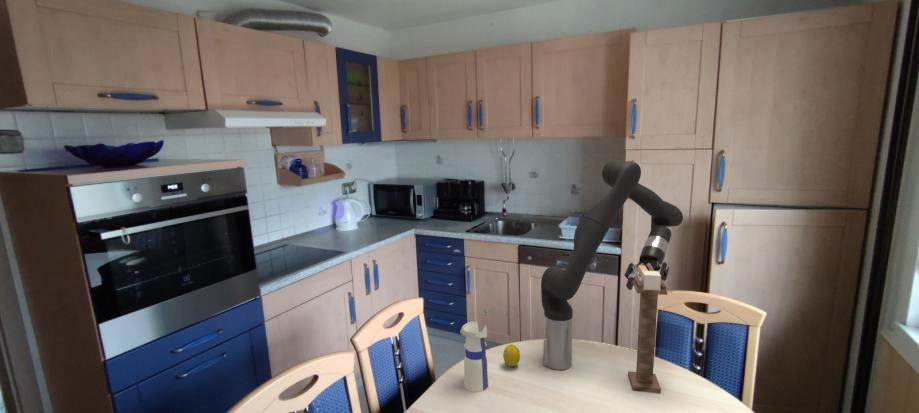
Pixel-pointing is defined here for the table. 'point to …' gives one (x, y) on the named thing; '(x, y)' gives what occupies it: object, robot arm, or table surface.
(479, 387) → the white and blue pitcher
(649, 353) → the tall stand
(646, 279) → the plug rod
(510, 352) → the lemon
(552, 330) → the robot arm
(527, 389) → the table surface
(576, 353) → the table surface
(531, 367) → the table surface
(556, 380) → the table surface
